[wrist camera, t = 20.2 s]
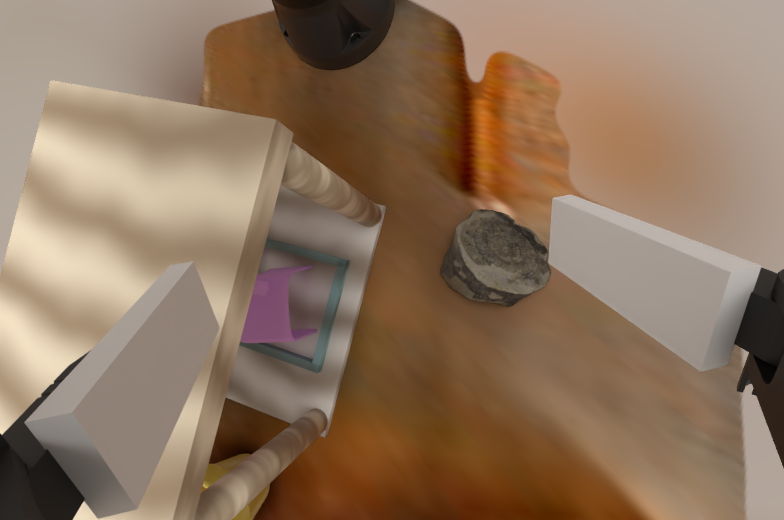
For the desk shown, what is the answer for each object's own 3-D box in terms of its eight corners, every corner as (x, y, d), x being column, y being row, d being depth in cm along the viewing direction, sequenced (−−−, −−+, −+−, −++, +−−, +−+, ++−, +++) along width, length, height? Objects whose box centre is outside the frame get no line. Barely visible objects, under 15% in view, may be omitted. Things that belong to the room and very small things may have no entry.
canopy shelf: (262, 179, 49) (50, 80, 25) (386, 207, 45) (276, 119, 21) (209, 386, 49) (-54, 487, 25) (327, 434, 45) (148, 613, 21)
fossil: (560, 226, 39) (568, 264, 31) (530, 294, 44) (530, 345, 35) (463, 199, 42) (446, 227, 33) (444, 266, 46) (424, 307, 38)
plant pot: (208, 508, 48) (141, 564, 39) (219, 430, 49) (155, 466, 39) (277, 531, 46) (224, 597, 36) (288, 449, 46) (238, 492, 37)
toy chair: (265, 337, 47) (167, 363, 32) (262, 269, 47) (165, 264, 33) (325, 335, 45) (249, 361, 30) (321, 264, 45) (245, 256, 31)
